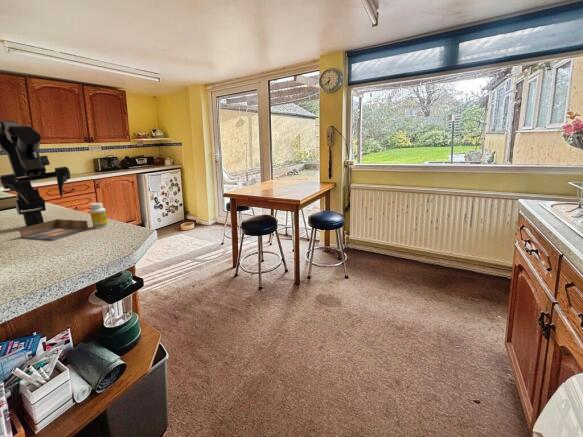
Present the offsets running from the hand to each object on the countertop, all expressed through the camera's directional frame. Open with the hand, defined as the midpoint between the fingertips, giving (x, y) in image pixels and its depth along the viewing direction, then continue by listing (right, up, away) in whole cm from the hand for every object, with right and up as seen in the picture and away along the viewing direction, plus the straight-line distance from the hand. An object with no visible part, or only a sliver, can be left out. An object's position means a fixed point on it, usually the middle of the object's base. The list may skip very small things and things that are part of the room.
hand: (45, 199), depth 106 cm
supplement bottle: (+7, -10, +20) cm, 23 cm away
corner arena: (-6, -12, +12) cm, 18 cm away
